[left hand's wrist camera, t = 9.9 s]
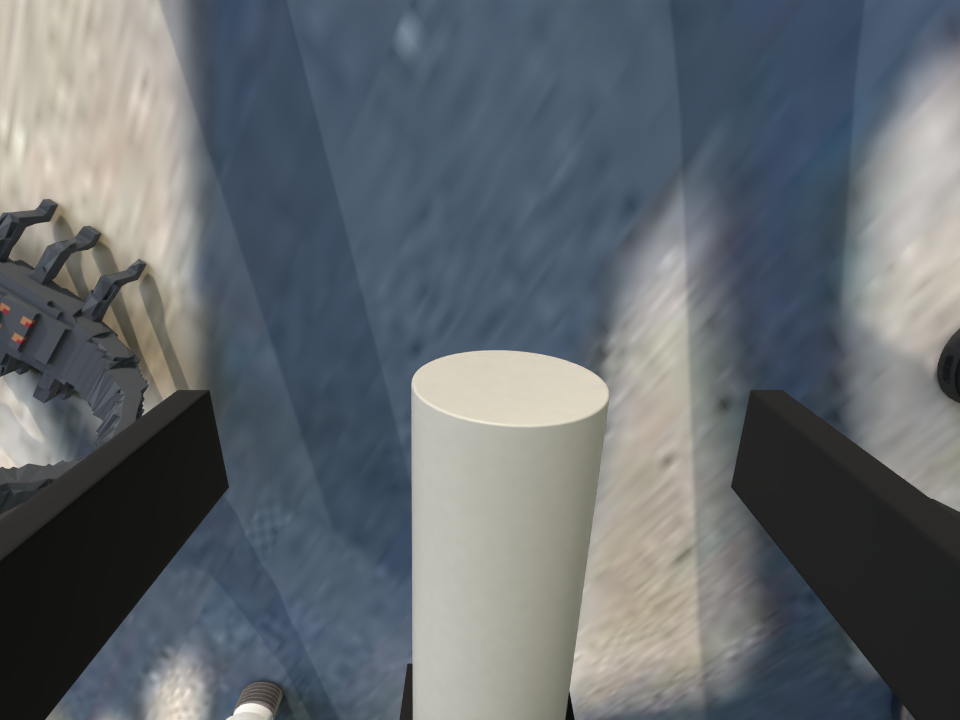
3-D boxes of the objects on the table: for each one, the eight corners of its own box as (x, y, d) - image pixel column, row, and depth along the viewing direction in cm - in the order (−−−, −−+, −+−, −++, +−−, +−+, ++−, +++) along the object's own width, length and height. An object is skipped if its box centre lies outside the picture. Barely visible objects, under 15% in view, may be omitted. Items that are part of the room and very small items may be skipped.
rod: (421, 346, 24) (398, 421, 17) (587, 353, 24) (635, 429, 17) (420, 721, 32) (404, 880, 25) (543, 723, 33) (563, 882, 25)
